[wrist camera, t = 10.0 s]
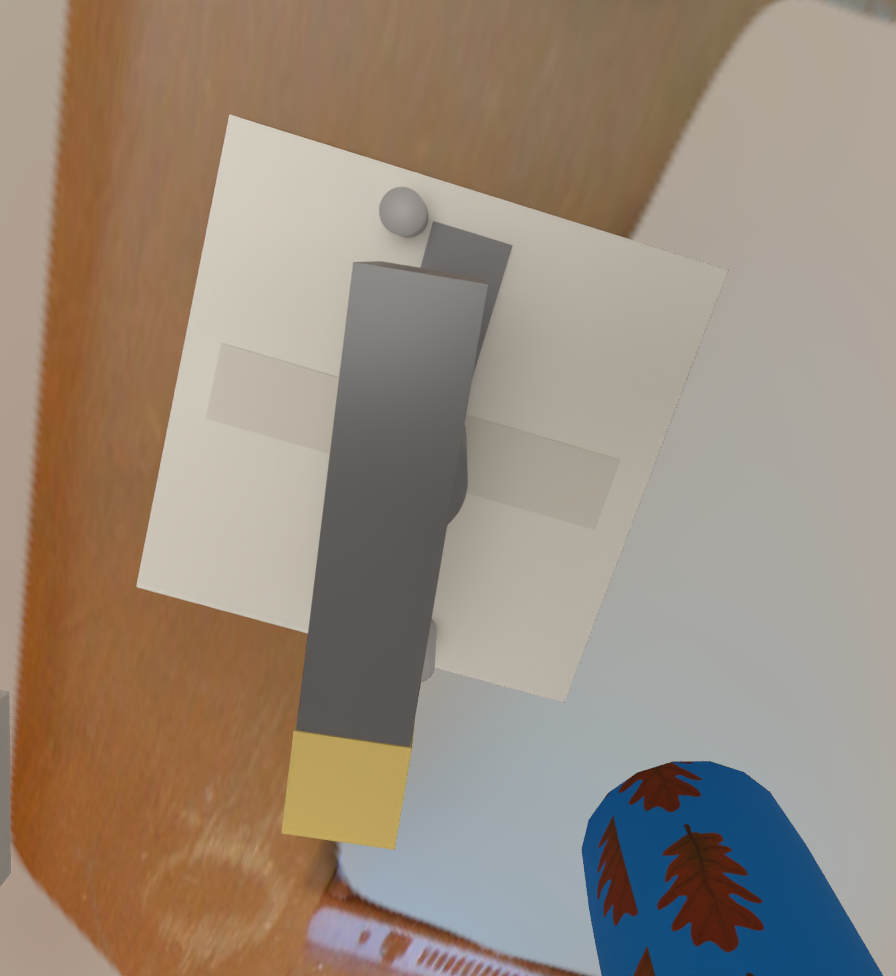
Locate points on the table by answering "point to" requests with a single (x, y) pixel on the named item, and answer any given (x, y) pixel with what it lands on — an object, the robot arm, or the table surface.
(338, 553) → the grey yellow rectangular block
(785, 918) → the thermos
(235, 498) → the base plate
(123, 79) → the table surface
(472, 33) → the table surface
